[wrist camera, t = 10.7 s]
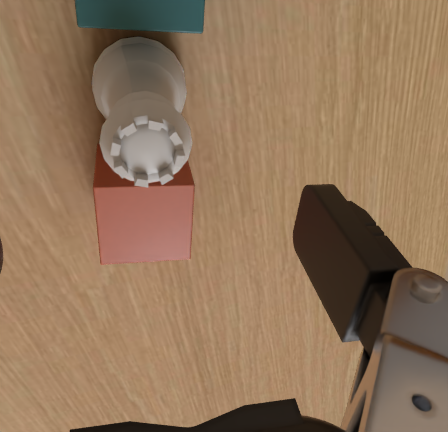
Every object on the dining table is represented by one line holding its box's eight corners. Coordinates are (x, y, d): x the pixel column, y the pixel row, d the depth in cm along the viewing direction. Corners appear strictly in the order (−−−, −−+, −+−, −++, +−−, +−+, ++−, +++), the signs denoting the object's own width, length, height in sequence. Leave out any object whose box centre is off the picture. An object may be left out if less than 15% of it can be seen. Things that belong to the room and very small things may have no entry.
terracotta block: (97, 143, 22) (92, 186, 19) (183, 142, 23) (194, 184, 20) (103, 214, 25) (100, 265, 21) (180, 211, 26) (190, 259, 22)
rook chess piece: (74, 53, 20) (52, 120, 13) (165, 19, 20) (188, 70, 13) (116, 137, 22) (115, 226, 16) (196, 107, 22) (228, 185, 16)
